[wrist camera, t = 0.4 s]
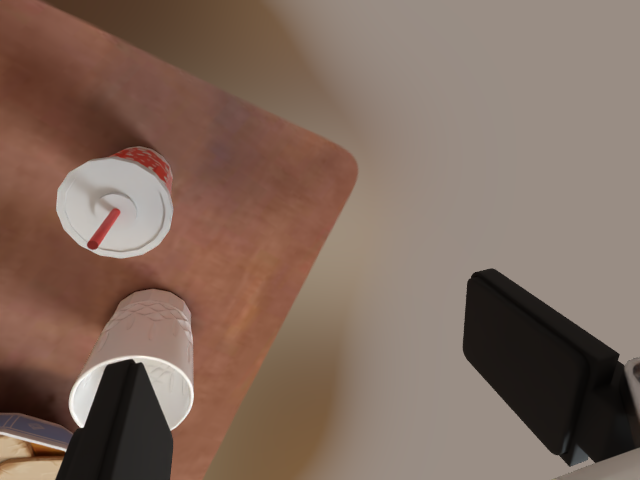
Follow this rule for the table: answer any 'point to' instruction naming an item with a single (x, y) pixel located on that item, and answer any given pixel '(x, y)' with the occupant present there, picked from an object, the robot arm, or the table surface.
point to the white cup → (144, 353)
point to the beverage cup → (118, 203)
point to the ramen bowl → (31, 447)
